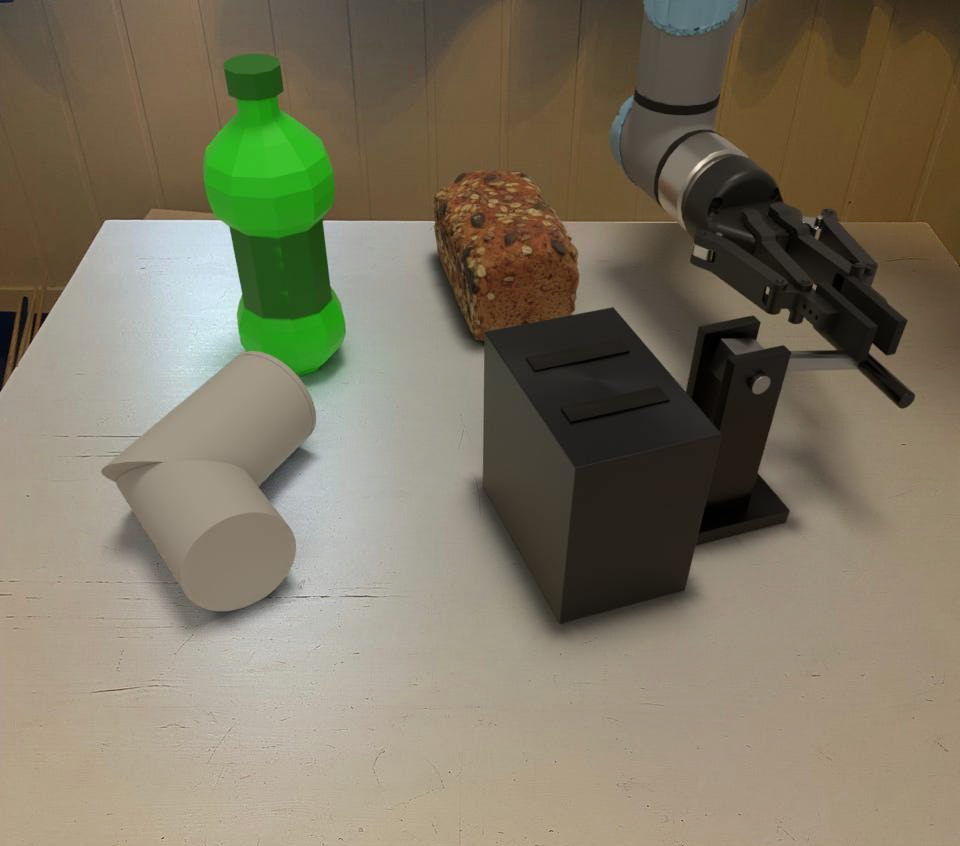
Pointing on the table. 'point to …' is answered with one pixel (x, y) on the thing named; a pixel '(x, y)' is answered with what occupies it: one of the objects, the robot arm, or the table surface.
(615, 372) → the toaster
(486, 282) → the bread
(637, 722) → the table surface
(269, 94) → the plastic bottle
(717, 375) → the lever
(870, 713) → the table surface
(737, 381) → the lever bracket
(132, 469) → the elbow connector
